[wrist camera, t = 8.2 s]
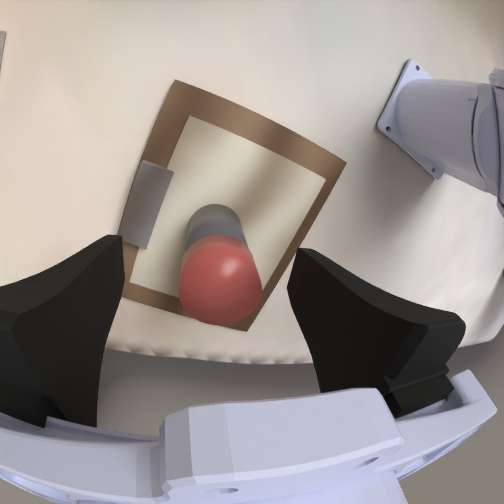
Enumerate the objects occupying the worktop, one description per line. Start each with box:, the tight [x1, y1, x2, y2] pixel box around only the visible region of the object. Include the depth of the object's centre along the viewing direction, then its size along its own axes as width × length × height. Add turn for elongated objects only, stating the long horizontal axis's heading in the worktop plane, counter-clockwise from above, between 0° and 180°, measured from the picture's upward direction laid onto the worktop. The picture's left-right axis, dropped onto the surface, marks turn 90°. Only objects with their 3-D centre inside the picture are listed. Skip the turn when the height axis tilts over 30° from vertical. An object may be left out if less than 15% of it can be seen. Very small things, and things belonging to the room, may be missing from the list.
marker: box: [179, 204, 262, 325], centre depth 17 cm, size 4×4×8 cm
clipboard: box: [118, 80, 347, 332], centre depth 21 cm, size 14×18×2 cm
